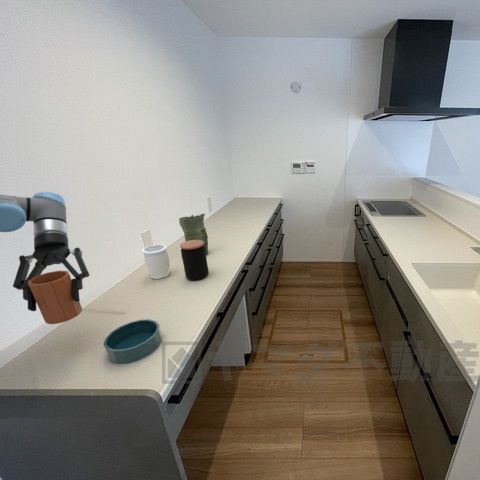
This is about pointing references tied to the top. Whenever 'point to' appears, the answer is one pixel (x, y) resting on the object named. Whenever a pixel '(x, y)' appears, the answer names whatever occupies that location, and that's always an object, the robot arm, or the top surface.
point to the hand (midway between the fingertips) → (54, 304)
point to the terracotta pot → (55, 296)
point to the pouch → (194, 229)
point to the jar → (157, 261)
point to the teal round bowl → (133, 341)
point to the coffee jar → (194, 259)
